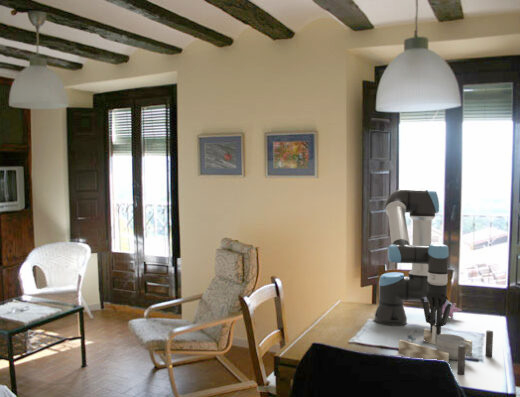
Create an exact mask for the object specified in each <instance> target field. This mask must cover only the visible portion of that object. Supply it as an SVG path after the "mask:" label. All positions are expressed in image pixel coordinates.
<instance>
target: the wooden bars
mask: <svg viewBox="0 0 520 397" xmlns="http://www.w3.org/2000/svg"><path fill="white" fill-rule="evenodd" d="M441 334H445V333H443V332H441ZM485 335H486V336H485V337H486V338H485V354H484V355H485V356H484V357H486V358H492V357H493V348H494V346H493V344H494V343H493V342H494V339H493V338H494V331H493V330H488V329H487V330H486V331H485ZM465 339H466V338H465ZM424 340H425V341H427V342H426V343H430V344H433V345H436V343H434V342H432V333H431V332H430V329H429V328H424V329H423V341H424ZM425 341H424V342H425ZM465 342H467V343H470V344H471V345H472V346H473V340H470V339H466V341H465ZM397 348H398V354H400V355H401V354H402V355H405V356H408V357H411V358H413V359H414V358H415V359H417V358H423V359H437V360H444V361H447V362H449V360H450V359H449V353H446V352H443V351H439V350H437V349H436V348H431V347H428V346H425V345H422V344H417V343H414V342H411V341H406V340H403V339H398V347H397ZM468 350H469V347H468V345H465V346H463V345H458V359H457V370H456V371H457V372H456V373H457V375H460V376H464V375H465V374H466V373H465V370H466V355H465V352H467V351H468ZM470 354H473V350H472V351H471V352H470V353H469V354H468V355H470ZM449 363H450V362H449Z"/></svg>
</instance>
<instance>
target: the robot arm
mask: <svg viewBox="0 0 520 397" xmlns="http://www.w3.org/2000/svg"><path fill="white" fill-rule="evenodd" d="M439 200H440V199H439V196H438V193H437V191H436V190H435V189H432V188H405V187H403V188H399V189H397V190H395V191H393V192H392V193H391V194H389V196H388V198H387V199H386V200H385V201H386V202H385V204H384V205H385V206H384V211H385V213H386V216H387V217H388V226H389V233H390V234H389V235H390V240H391V241H390V242H391V244H389V245H388V246H387V260H388V262H390V263H397V264H411V270H409V272H408V275H407V276H406V275H405V274H404V273H403V272H398V271H397V272H396V271H395V272H394V271H393V272H385V273H383V274H381V275H380V277H379V282H378V286H379V287H378V305H377V308H376V311H375V313H374V321H375V322H376V323H378V324H382V325H386V326H403V325H405V324H407V322H408V317H407V315H406V310H405V307H404V302H408V301H409V302H421V303H422V308H423V313H424V318H425V322H426V323H427V324H429V325H430V328H429V330H430V332H431V333H432V342H434V343H436V335H439V334H441V333H442V327H445V326H446V325H447V323H448V321H449V319H448V316H449V313H450V309H451V308H452V306H453V302H450V300H449V299H448V296H447V295H448V285H447V284H448V275H449V274H448V273H449V272H448V271H449V256H450V253H449V246H448V245H447V244H442V243H432V226H433V225H432V222H433V220H434V219H435V217H436V214H439V211H440V202H439ZM406 213H409V217H410V218H411V219H412V245H411V244H410V237H409V230H408V225H407V219H406V218H407V217H406ZM445 303H446V305H445V306H446V307H445V310H444V313H443V315H442V309H443V305H444V304H445ZM449 317H450V316H449Z"/></svg>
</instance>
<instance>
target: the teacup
mask: <svg viewBox="0 0 520 397" xmlns="http://www.w3.org/2000/svg"><path fill="white" fill-rule="evenodd" d="M465 341H466V338H465V337H463V336H460V335H457V334H450V333H444V334H439V335H436V344H435V346H436V348H435V349H436V350H439V351H443V352H446V353H449V360H454V361H455V360H458V345H463V346H465V345H468V347H469V350H468V351H467V352H465V356H466V355H470V354H469V353H470V352H471V351H472V352H473V344H472V345H471V344H470V343H467V342H465Z"/></svg>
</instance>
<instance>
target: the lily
mask: <svg viewBox="0 0 520 397" xmlns="http://www.w3.org/2000/svg"><path fill="white" fill-rule="evenodd" d="M452 303H453V302H452ZM445 305H446V303H445V304H444V305H443V309H442V316H443V313H444V310H445V307H446V306H445ZM462 311H463V309H461V308H459V307H457V303H456V302H454V303H453V306H452V308H451V309H450V313H449V316H448V320H450V318H452V319H453V317H454V313H456V312H462ZM449 317H450V318H449Z"/></svg>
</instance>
